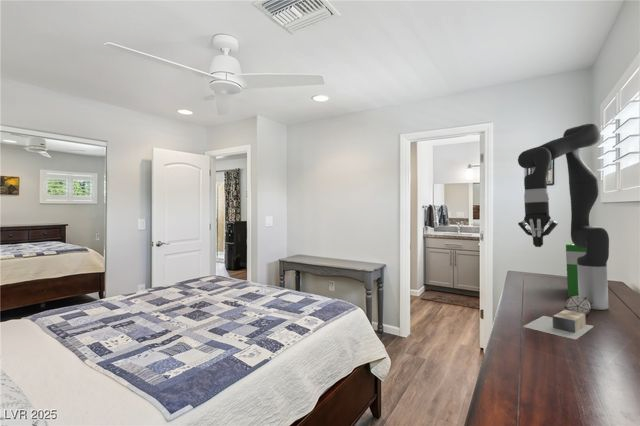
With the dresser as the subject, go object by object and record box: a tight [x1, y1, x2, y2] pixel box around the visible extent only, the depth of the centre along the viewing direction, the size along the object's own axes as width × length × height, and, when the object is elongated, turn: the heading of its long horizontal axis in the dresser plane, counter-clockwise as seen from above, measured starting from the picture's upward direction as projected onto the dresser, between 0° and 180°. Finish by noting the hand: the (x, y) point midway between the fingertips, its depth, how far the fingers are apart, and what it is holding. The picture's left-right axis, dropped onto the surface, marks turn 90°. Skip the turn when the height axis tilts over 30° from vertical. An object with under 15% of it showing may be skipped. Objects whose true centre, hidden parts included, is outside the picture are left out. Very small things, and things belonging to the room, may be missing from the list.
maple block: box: [552, 309, 587, 333], centre depth 107 cm, size 6×4×11 cm
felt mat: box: [522, 315, 595, 341], centre depth 108 cm, size 18×15×1 cm
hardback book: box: [565, 241, 587, 297], centre depth 150 cm, size 18×7×24 cm, turn 134°
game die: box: [563, 294, 594, 317], centre depth 118 cm, size 9×8×10 cm
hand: (538, 246), depth 118 cm, fingers closed
